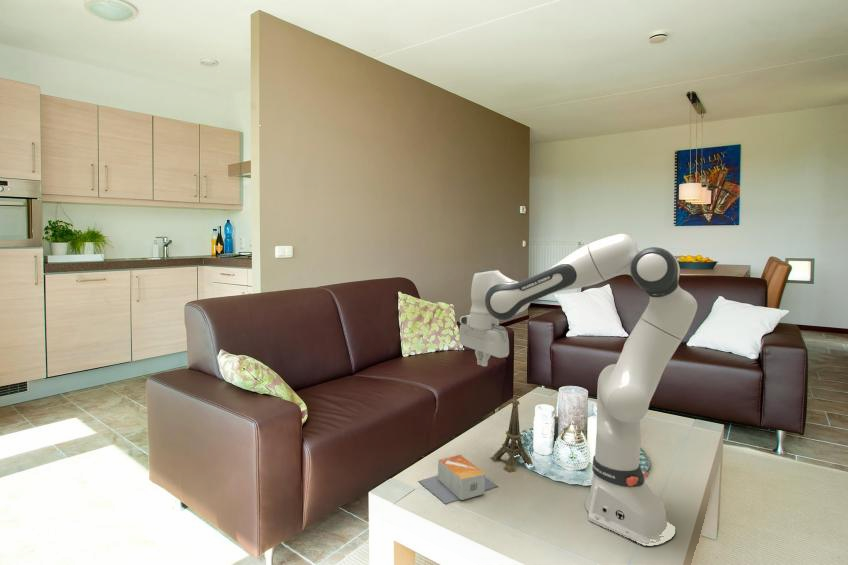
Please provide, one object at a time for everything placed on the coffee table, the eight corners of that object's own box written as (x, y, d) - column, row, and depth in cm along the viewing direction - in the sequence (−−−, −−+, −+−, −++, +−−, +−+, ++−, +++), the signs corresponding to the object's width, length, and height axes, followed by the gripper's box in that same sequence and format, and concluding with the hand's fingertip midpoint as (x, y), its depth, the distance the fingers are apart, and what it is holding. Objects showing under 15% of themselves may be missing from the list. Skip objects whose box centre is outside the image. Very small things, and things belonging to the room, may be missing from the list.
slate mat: (498, 486, 143) (498, 485, 143) (445, 504, 133) (445, 503, 133) (468, 467, 155) (468, 466, 155) (418, 481, 145) (418, 480, 145)
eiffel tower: (535, 466, 157) (539, 391, 154) (508, 473, 152) (512, 395, 150) (515, 453, 166) (519, 381, 164) (489, 458, 162) (493, 385, 159)
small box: (461, 479, 134) (437, 459, 145) (461, 501, 135) (437, 479, 146) (485, 472, 138) (460, 454, 149) (485, 494, 138) (459, 474, 150)
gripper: (515, 326, 144) (512, 372, 145) (471, 315, 161) (470, 356, 162) (499, 328, 140) (496, 375, 142) (456, 316, 157) (454, 359, 159)
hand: (482, 365), depth 152 cm, fingers closed
